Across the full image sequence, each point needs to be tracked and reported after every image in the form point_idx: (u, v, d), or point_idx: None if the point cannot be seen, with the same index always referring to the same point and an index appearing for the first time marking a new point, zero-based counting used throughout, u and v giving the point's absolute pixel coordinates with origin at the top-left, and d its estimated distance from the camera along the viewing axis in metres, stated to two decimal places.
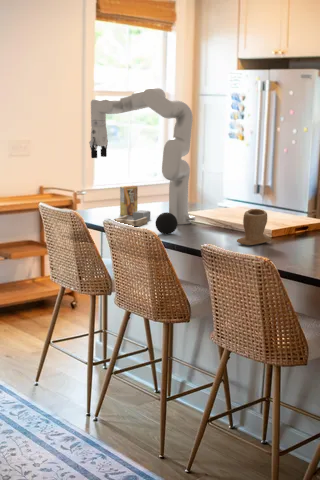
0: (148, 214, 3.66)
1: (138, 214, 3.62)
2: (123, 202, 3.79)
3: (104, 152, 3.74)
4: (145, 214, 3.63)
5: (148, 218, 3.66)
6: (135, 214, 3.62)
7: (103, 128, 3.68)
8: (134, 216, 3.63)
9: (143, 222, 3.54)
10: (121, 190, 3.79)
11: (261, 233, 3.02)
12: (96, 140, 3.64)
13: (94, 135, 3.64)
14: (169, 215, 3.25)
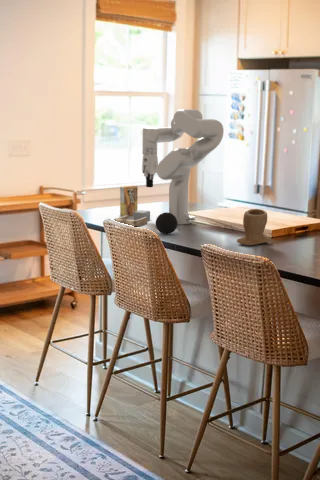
0: (148, 214, 3.66)
1: (138, 214, 3.62)
2: (123, 202, 3.79)
3: None
4: (145, 214, 3.63)
5: (148, 218, 3.66)
6: (135, 214, 3.62)
7: (154, 156, 3.68)
8: (134, 216, 3.63)
9: (143, 222, 3.54)
10: (121, 190, 3.79)
11: (261, 233, 3.02)
12: (148, 172, 3.66)
13: (146, 163, 3.65)
14: (169, 215, 3.25)
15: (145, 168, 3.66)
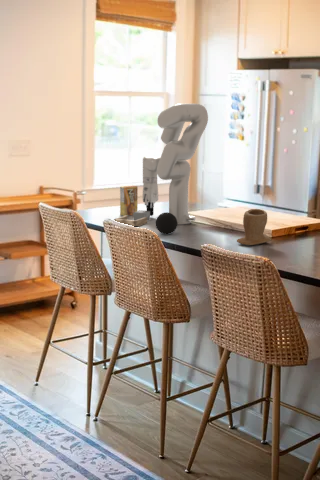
0: (148, 214, 3.66)
1: (139, 214, 3.62)
2: (123, 202, 3.79)
3: None
4: (145, 214, 3.63)
5: (148, 218, 3.67)
6: (135, 214, 3.62)
7: (155, 184, 3.71)
8: (134, 216, 3.63)
9: (143, 222, 3.54)
10: (121, 190, 3.79)
11: (261, 233, 3.02)
12: (149, 201, 3.69)
13: (146, 192, 3.68)
14: (169, 215, 3.25)
15: (145, 197, 3.69)
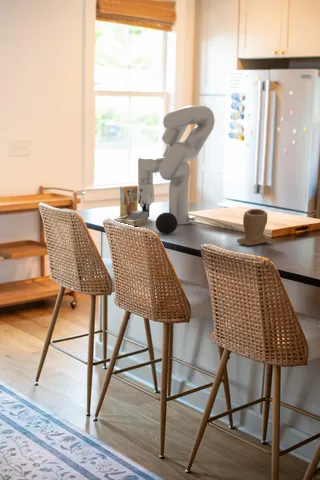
0: (146, 214, 3.65)
1: (136, 214, 3.60)
2: (123, 202, 3.79)
3: None
4: (143, 214, 3.61)
5: None
6: (133, 214, 3.61)
7: (150, 186, 3.66)
8: (132, 216, 3.61)
9: (143, 222, 3.54)
10: (121, 190, 3.79)
11: (261, 233, 3.02)
12: (144, 203, 3.64)
13: (141, 193, 3.63)
14: (169, 215, 3.25)
15: (141, 198, 3.64)
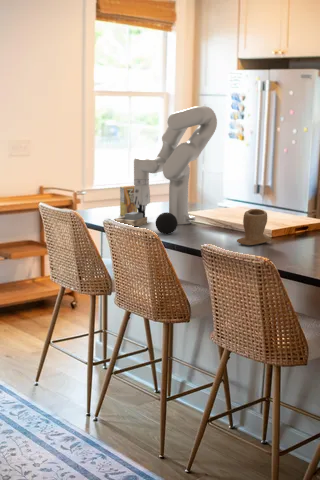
0: (140, 216, 3.61)
1: (130, 216, 3.57)
2: (123, 202, 3.79)
3: None
4: (137, 216, 3.57)
5: None
6: (127, 216, 3.58)
7: (146, 187, 3.62)
8: (126, 218, 3.58)
9: (143, 222, 3.54)
10: (121, 190, 3.79)
11: (261, 233, 3.02)
12: (140, 204, 3.60)
13: (137, 194, 3.59)
14: (169, 215, 3.25)
15: (136, 199, 3.60)
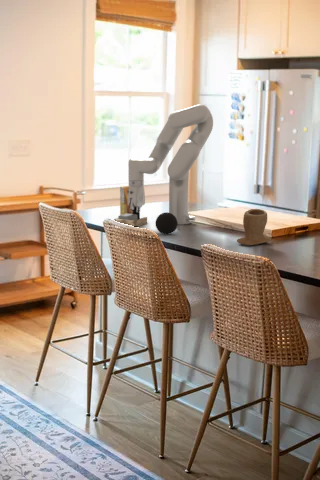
0: (135, 217, 3.55)
1: (123, 217, 3.52)
2: (123, 202, 3.79)
3: None
4: (131, 217, 3.52)
5: None
6: (120, 217, 3.53)
7: (141, 188, 3.57)
8: None
9: (143, 222, 3.54)
10: (121, 190, 3.79)
11: (261, 233, 3.02)
12: (135, 205, 3.55)
13: (132, 196, 3.54)
14: (169, 215, 3.25)
15: (131, 201, 3.55)
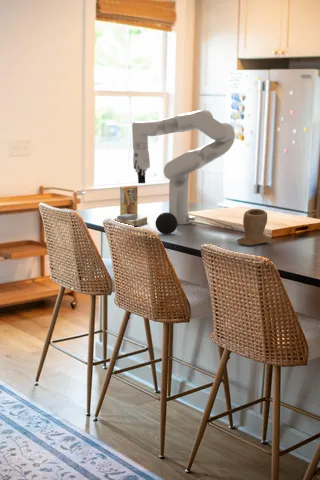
0: (133, 218, 3.55)
1: (122, 218, 3.51)
2: (123, 202, 3.79)
3: None
4: (130, 218, 3.51)
5: None
6: (119, 218, 3.52)
7: (145, 151, 3.57)
8: None
9: (143, 222, 3.54)
10: (121, 190, 3.79)
11: (261, 233, 3.02)
12: (140, 168, 3.55)
13: (137, 158, 3.54)
14: (169, 215, 3.25)
15: (136, 163, 3.55)
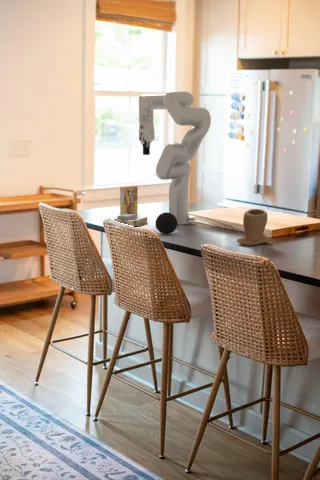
0: (133, 218, 3.55)
1: (122, 218, 3.51)
2: (123, 202, 3.79)
3: None
4: (130, 218, 3.51)
5: None
6: (119, 218, 3.52)
7: (151, 123, 3.72)
8: None
9: (143, 222, 3.54)
10: (121, 190, 3.79)
11: (261, 233, 3.02)
12: (145, 140, 3.70)
13: (142, 130, 3.69)
14: (169, 215, 3.25)
15: (142, 135, 3.70)
